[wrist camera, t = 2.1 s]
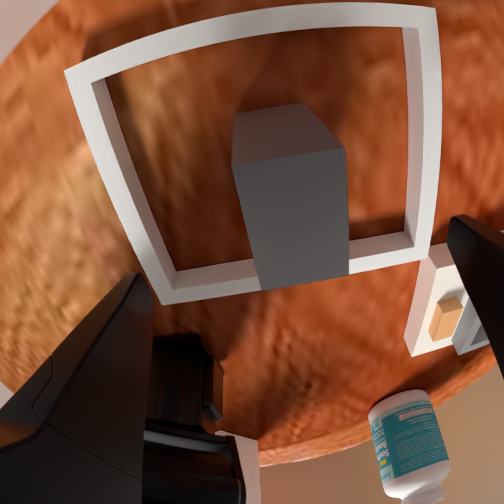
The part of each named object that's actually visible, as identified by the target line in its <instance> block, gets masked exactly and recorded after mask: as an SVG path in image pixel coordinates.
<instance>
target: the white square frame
mask: <svg viewBox="0 0 504 504" xmlns="http://www.w3.org/2000/svg"><path fill="white" fill-rule="evenodd" d="M354 26H383V27H402V34H403V42H404V52H405V63H406V76H407V94H408V178H407V196H406V210H405V222H404V231H402V232H396V233H391V234H385V235H380V236H374V237H369V238H363V239H358V240H352V241H349V274H353V273H358V272H363V271H368V270H373V269H378V268H383V267H388V266H393V265H397V264H402V263H407V262H412V261H416V260H421V259H426V258H427V257H428V252H429V246H430V241H431V234H432V228H433V221H434V214H435V207H436V198H437V189H438V179H439V168H440V154H441V133H442V79H441V59H440V46H439V35H438V25H437V17H436V10H435V8H431V7H424V6H415V5H404V4H390V3H365V2H341V3H316V4H302V5H291V6H282V7H273V8H266V9H259V10H252V11H246V12H241V13H235V14H230V15H225V16H220V17H215V18H211V19H207V20H202V21H198V22H194V23H190V24H187V25H183V26H179V27H176V28H172V29H169V30H166V31H162V32H159V33H156V34H153V35H150V36H147V37H144V38H141V39H138V40H135V41H132V42H130V43H127V44H124V45H122V46H119V47H116V48H114V49H111V50H109V51H106V52H104V53H102V54H99V55H97V56H95V57H92V58H90V59H88V60H86V61H83V62H81V63H79V64H77V65H75V66H73V67H71V68H69V69H66V70H64V73H65V76H66V79H67V83H68V86H69V89H70V92H71V95H72V98H73V101H74V104H75V107H76V110H77V113H78V116H79V119H80V122H81V125H82V127H83V130H84V133H85V136H86V138H87V141H88V144H89V146H90V149H91V152H92V154H93V157H94V159H95V162H96V165H97V167H98V170H99V172H100V174H101V177H102V179H103V182H104V184H105V187H106V189H107V191H108V194H109V196H110V198H111V201H112V203H113V205H114V208H115V210H116V212H117V214H118V217H119V219H120V221H121V223H122V225H123V228H124V230H125V232H126V234H127V236H128V238H129V241H130V243H131V245H132V247H133V249H134V251H135V253H136V255H137V257H138V259H139V261H140V263H141V265H142V267H143V269H144V271H145V273H146V275H147V277H148V279H149V281H150V283H151V285H152V287H153V289H154V291H155V293H156V295H157V297H158V298H159V300H160V302H161V304H162V305H169V304H176V303H183V302H190V301H196V300H203V299H209V298H216V297H222V296H229V295H235V294H241V293H247V292H253V291H259V290H261V287H260V283H259V279H258V275H257V271H256V267H255V263H254V259H253V258H251V259H246V260H240V261H234V262H229V263H223V264H217V265H211V266H206V267H200V268H194V269H188V270H183V271H177V272H176V270H175V267H174V265H173V263H172V261H171V258H170V256H169V254H168V251H167V249H166V246H165V244H164V242H163V239H162V237H161V234H160V232H159V230H158V227H157V225H156V222H155V220H154V217H153V215H152V212H151V210H150V207H149V205H148V202H147V199H146V197H145V194H144V192H143V189H142V186H141V184H140V181H139V178H138V176H137V173H136V170H135V168H134V165H133V162H132V159H131V157H130V154H129V151H128V148H127V145H126V142H125V140H124V137H123V134H122V131H121V128H120V125H119V122H118V119H117V116H116V113H115V110H114V107H113V104H112V100H111V97H110V94H109V91H108V88H107V84H106V81H105V77H108V76H110V75H113V74H115V73H118V72H121V71H124V70H126V69H129V68H132V67H135V66H138V65H140V64H143V63H146V62H150V61H153V60H156V59H159V58H162V57H166V56H169V55H172V54H176V53H179V52H183V51H187V50H191V49H195V48H198V47H203V46H207V45H211V44H215V43H220V42H225V41H230V40H235V39H240V38H245V37H251V36H257V35H263V34H270V33H277V32H285V31H294V30H303V29H315V28H329V27H354Z"/></svg>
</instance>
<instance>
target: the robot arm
mask: <svg viewBox="0 0 504 504" xmlns="http://www.w3.org/2000/svg"><path fill="white" fill-rule="evenodd" d="M447 247H448V249H449V251H450V254H451V256H452V258H453V261H454V263H455V265H456V268H457V270H458V273H459V275H460V278H461V280H462V283H463V285H464V288H465V290H466V292H467V294H468V296H469V298H470V300H471V302H472V304H473V306H474V309H475V311H476V313H477V315H478V317H479V319H480V322H481V324H482V326H483V328H484V331H485V333H486V335H487V338H488V340H489V342H490V345H491V347H492V350H493V352H494V355H495V357H496V360H497V363H498V365H499V368H500V371H501V373H502V376H503V379H504V233H503V232H501V231H499V230H497V229H494V228H492V227H490V226H488V225H486V224H484V223H482V222H480V221H477V220H475V219H473V218H471V217H469V216H466V215H464V214H461V215H455V216H452V217H451V219H450V223H449V229H448V234H447ZM152 336H153V295H152V292H151V290H150V288H149V286H148V284H147V282H146V280H145V279H144V277H143V275H142V274H141V273H140V272H135V273H130V274H127V275H125V276H124V277H123V278H122V279H121V280H120V281H119V282H118V283H117V284H116V285H115V286H114V288H113V289H112V290H111V291H110V292H109V293H108V294H107V295H106V296H105V297H104V298H103V299H102V300H101V301H100V302H99V303H98V304H97V305H96V306H95V307H94V308H93V309H92V310H91V311H90V312H89V313H88V315H87V316H86V317H85V318H84V319H83V320H82V321H81V322H80V323H79V324H78V325H77V326H76V327H75V328H74V330H73V331H72V332H71V333H70V334H69V335H68V336H67V337H66V338H65V339H64V340H63V342H62V343H61V344H60V345H59V346H58V347H57V348H56V349H55V351H54V352H53V353H52V355H50V356H49V357H48V358H47V360H46V361H45V362H44V363H43V364H42V365H41V366H40V367H39V369H38V370H37V371H36V372H35V373H34V374H33V375H32V376H31V377H30V378H29V380H28V381H27V382H26V383H25V384H24V385H23V386H22V387H21V388H20V389H19V390H18V391H17V392H16V393H15V394H14V395H13V396H12V397H11V398H10V399H9V400H8V402H7V403H6V404H5V405H4V406H3V407H2V408H1V409H0V504H246V486H245V481H244V476H243V472H242V468H241V463H240V458H239V454H238V449H237V444H236V440H235V436H231V435H226V436H222V435H215V421H220V420H221V419H222V418H223V372H222V370H221V368H220V367H219V365H218V363H217V361H216V359H215V357H214V356H213V355H212V354H210V353H209V351H208V349H207V347H206V345H205V343H204V341H203V339H202V337H201V336H200V335H198V334H184V335H176V336H167V337H157V338H152Z"/></svg>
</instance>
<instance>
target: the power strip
mask: <svg viewBox="0 0 504 504" xmlns="http://www.w3.org/2000/svg"><path fill="white" fill-rule="evenodd" d="M501 232H503V233H504V230H502V231H501ZM404 340H405V342H406V344H407V347H408V349H409V352H410V354H411V357H413V356H416V355H420V354H423V353H426V352H430V351H433V350H436V349H439V348H442V347H446V346H449V345H452V344H453V345H454V347H455V349H456V351H457V353H458V355H461V354H463V353H466V352H469V351H472V350H474V349H477V348H479V347H482V346H485V345H487V344H490V342H489V340H488V338H487V335H486V333H485V331H484V328H483V326H482V324H481V322H480V319H479V317H478V315H477V313H476V311H475V309H474V306H473V304H472V302H471V300H470V298H469V296H468V294H467V292H466V290H465V288H464V285H463V283H462V280H461V278H460V275H459V273H458V270H457V268H456V265H455V263H454V261H453V258H452V256H451V254H450V251H449V249H448V247H447V243H442V244H437V245H432V246H429V252H428V257H427V258H426V259H421V260H420V266H419V271H418V276H417V282H416V286H415V291H414V296H413V300H412V305H411V309H410V313H409V317H408V321H407V325H406V329H405V333H404Z"/></svg>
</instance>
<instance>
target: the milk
mask: <svg viewBox="0 0 504 504" xmlns="http://www.w3.org/2000/svg"><path fill="white" fill-rule="evenodd" d="M215 435H222V436H226V435H231V436H235V440H236V444H237V449H238V454H239V458H240V463H241V468H242V472H243V476H244V481H245V486H246V504H261V495H260V494H261V493H260V477H259V460H258V443H257V440H253V439H250V438H246V437H242V436H239V435H235V434H232V433H228V432H225V431H221V430H220V431H217V432H215Z"/></svg>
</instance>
